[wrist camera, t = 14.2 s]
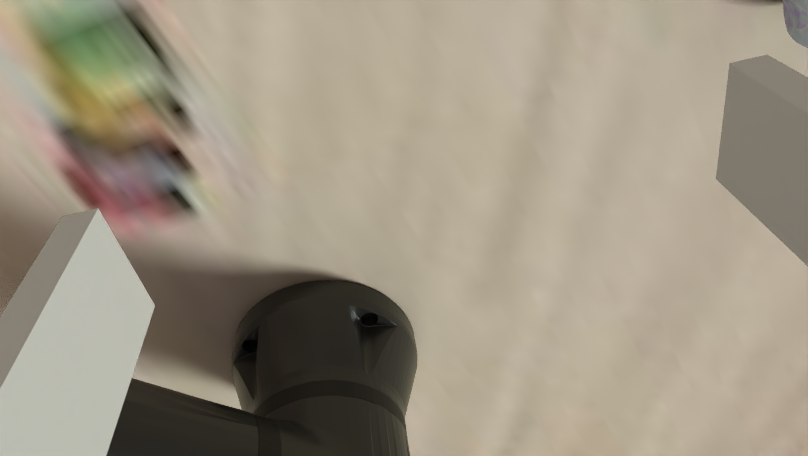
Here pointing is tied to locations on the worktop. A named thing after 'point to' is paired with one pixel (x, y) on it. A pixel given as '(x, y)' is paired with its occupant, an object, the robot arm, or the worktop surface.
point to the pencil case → (797, 20)
